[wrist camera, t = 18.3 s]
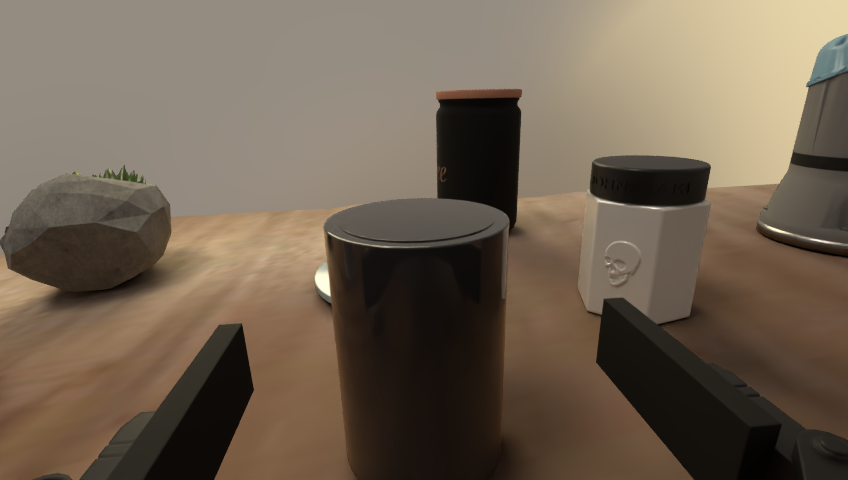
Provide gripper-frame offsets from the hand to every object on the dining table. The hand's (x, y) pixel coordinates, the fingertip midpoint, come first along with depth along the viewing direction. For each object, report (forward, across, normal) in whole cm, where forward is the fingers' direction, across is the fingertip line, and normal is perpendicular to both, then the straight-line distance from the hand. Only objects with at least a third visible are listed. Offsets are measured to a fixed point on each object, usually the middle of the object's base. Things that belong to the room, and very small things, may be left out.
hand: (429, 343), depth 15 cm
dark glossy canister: (+4, 0, -8) cm, 10 cm away
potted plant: (+31, -31, -9) cm, 45 cm away
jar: (+18, +19, -9) cm, 27 cm away
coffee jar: (+42, +11, -9) cm, 44 cm away
